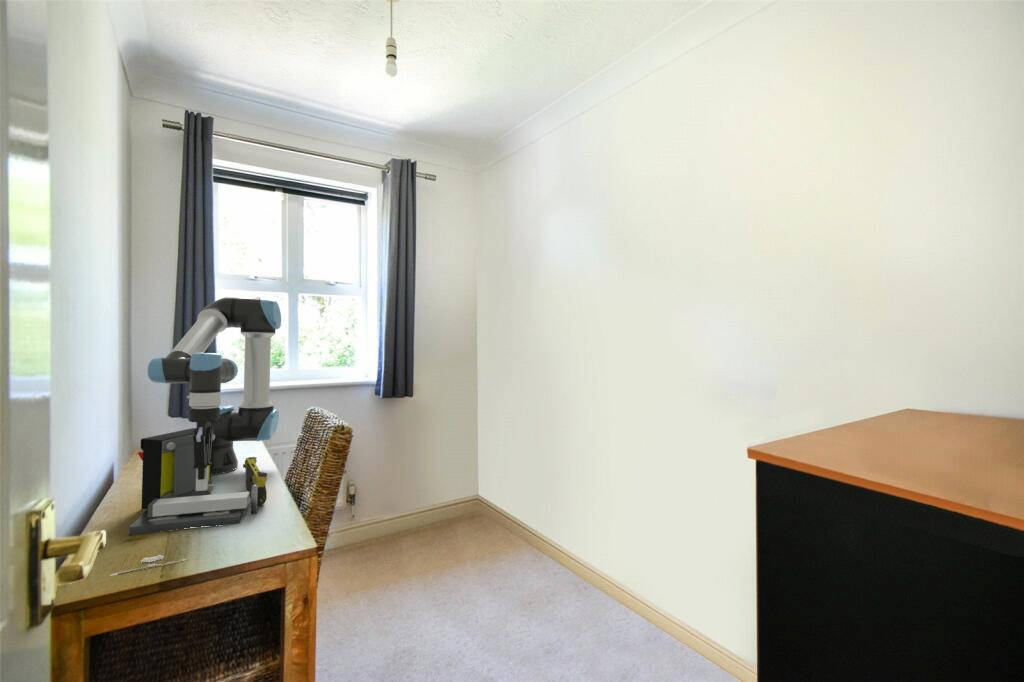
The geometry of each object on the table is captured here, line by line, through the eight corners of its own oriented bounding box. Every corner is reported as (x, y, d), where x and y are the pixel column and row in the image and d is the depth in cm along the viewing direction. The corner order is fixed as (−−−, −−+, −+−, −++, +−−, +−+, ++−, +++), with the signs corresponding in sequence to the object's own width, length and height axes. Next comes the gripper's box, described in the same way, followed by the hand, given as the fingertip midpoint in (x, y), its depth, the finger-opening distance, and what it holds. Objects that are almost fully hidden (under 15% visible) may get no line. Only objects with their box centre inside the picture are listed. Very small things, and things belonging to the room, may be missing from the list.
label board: (148, 515, 129) (149, 486, 129) (260, 505, 139) (260, 478, 139) (128, 535, 116) (129, 502, 116) (253, 522, 126) (254, 492, 126)
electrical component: (165, 511, 132) (167, 440, 132) (135, 508, 134) (137, 438, 134) (216, 492, 149) (218, 429, 150) (189, 489, 152) (191, 427, 152)
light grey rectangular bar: (249, 502, 134) (249, 491, 134) (246, 508, 130) (246, 496, 130) (154, 510, 126) (154, 498, 126) (147, 517, 121) (147, 505, 121)
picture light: (108, 578, 96) (108, 568, 96) (111, 570, 100) (111, 560, 100) (190, 561, 104) (191, 552, 105) (190, 554, 108) (190, 545, 108)
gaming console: (241, 486, 156) (242, 456, 156) (255, 484, 159) (256, 455, 159) (251, 510, 136) (252, 475, 136) (267, 507, 138) (268, 473, 138)
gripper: (194, 404, 139) (192, 484, 138) (182, 410, 127) (179, 498, 126) (224, 403, 141) (221, 482, 141) (214, 409, 129) (212, 495, 129)
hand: (201, 489), depth 134 cm, fingers closed
